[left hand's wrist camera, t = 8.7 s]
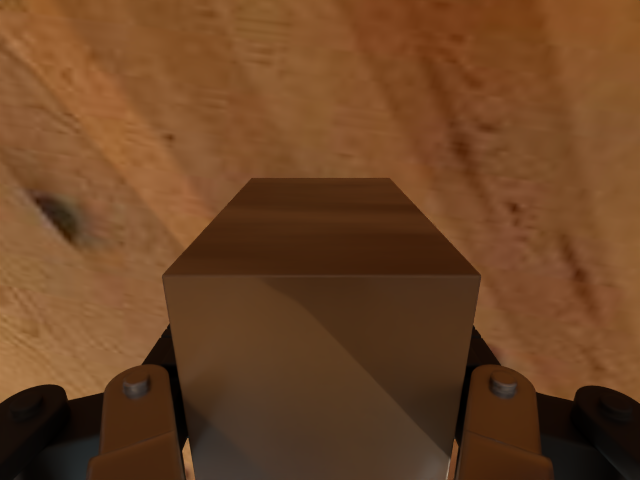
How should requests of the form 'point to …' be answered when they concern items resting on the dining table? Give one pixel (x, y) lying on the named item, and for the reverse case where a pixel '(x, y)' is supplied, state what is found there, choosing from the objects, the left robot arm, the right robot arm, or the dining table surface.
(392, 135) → the dining table surface
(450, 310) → the box
